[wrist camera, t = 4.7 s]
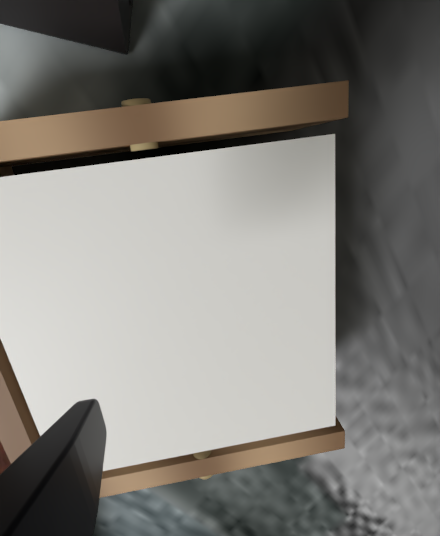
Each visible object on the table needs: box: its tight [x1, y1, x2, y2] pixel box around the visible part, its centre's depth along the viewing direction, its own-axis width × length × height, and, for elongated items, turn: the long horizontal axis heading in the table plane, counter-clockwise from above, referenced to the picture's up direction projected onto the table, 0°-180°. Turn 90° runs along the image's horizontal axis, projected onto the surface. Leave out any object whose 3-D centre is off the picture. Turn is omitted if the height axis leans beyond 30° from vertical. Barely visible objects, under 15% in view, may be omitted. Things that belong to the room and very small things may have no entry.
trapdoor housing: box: [0, 80, 349, 498], centre depth 17 cm, size 16×18×6 cm
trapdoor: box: [0, 134, 335, 471], centre depth 15 cm, size 14×14×3 cm
